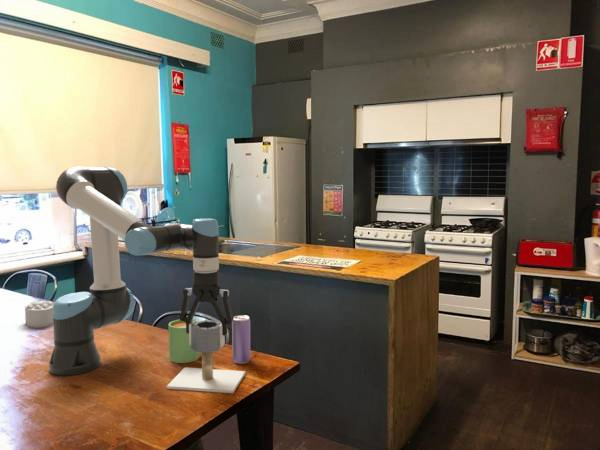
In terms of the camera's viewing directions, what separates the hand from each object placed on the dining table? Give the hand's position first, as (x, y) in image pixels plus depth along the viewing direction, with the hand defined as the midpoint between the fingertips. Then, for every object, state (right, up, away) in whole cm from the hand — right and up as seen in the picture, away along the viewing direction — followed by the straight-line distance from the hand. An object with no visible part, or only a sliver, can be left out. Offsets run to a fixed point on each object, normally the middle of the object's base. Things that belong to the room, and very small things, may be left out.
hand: (207, 344), depth 145 cm
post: (0, -11, +1) cm, 11 cm away
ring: (0, -1, 0) cm, 1 cm away
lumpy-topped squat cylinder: (-81, -6, +57) cm, 99 cm away
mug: (-12, -10, +21) cm, 26 cm away
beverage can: (+8, -10, +17) cm, 21 cm away
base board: (0, -11, +1) cm, 11 cm away
